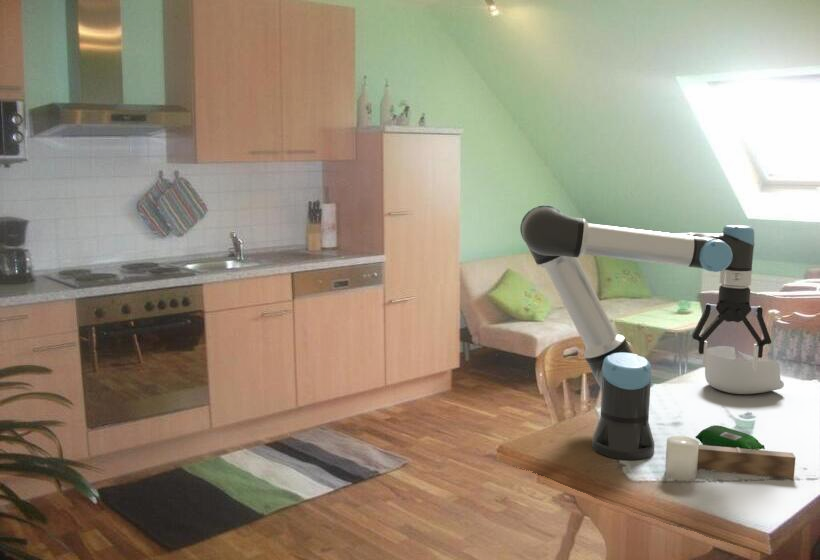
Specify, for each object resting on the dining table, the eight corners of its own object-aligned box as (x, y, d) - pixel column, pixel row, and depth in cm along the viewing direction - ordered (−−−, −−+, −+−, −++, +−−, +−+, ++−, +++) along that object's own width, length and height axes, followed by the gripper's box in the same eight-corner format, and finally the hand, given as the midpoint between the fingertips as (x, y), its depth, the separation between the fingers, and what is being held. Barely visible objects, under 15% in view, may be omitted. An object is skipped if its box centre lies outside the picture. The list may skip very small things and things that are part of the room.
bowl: (690, 383, 265) (693, 347, 263) (740, 378, 270) (743, 343, 268) (732, 401, 246) (735, 363, 244) (785, 395, 252) (788, 358, 250)
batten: (692, 468, 194) (694, 448, 193) (691, 464, 197) (693, 443, 196) (793, 478, 188) (795, 457, 188) (791, 473, 191) (792, 452, 190)
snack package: (748, 464, 197) (750, 443, 196) (692, 444, 210) (694, 425, 209) (765, 458, 201) (767, 438, 200) (709, 439, 214) (711, 420, 213)
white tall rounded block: (665, 478, 188) (667, 445, 187) (664, 467, 195) (666, 434, 193) (698, 481, 186) (700, 448, 185) (695, 470, 193) (697, 437, 192)
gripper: (686, 285, 210) (681, 368, 213) (788, 290, 204) (781, 375, 208) (684, 281, 217) (679, 360, 221) (782, 285, 211) (775, 367, 215)
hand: (728, 367), depth 214 cm, fingers open, 12 cm apart
